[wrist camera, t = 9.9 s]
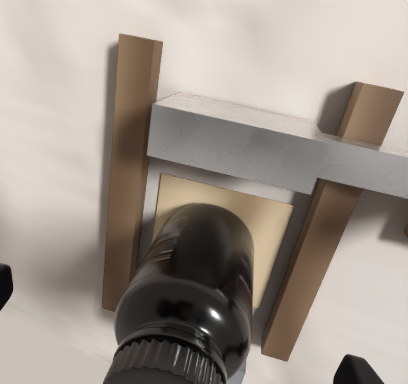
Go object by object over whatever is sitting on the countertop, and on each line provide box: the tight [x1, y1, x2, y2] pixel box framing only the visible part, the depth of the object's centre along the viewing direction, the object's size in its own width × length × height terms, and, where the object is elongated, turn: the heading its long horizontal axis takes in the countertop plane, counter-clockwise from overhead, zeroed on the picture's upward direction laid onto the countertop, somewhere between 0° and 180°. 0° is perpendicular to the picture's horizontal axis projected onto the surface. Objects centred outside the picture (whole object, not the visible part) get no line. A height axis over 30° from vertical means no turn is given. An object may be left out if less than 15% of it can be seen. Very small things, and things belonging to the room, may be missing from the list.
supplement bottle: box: [103, 203, 254, 384], centre depth 17 cm, size 7×7×12 cm
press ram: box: [147, 92, 408, 199], centre depth 15 cm, size 18×3×8 cm, turn 79°
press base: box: [102, 34, 408, 384], centre depth 19 cm, size 22×20×5 cm
